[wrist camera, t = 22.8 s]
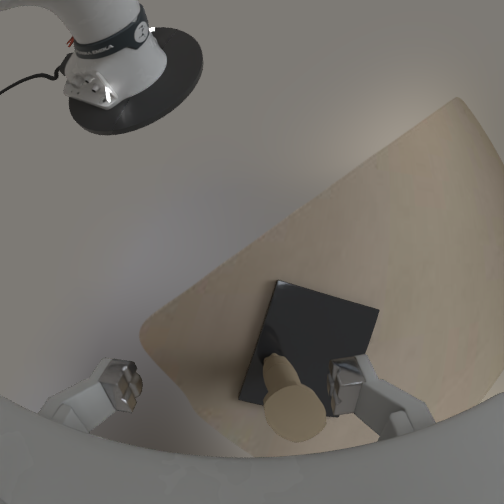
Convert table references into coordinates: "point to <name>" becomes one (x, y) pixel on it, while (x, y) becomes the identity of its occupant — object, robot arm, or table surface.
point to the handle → (290, 402)
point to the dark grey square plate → (308, 338)
